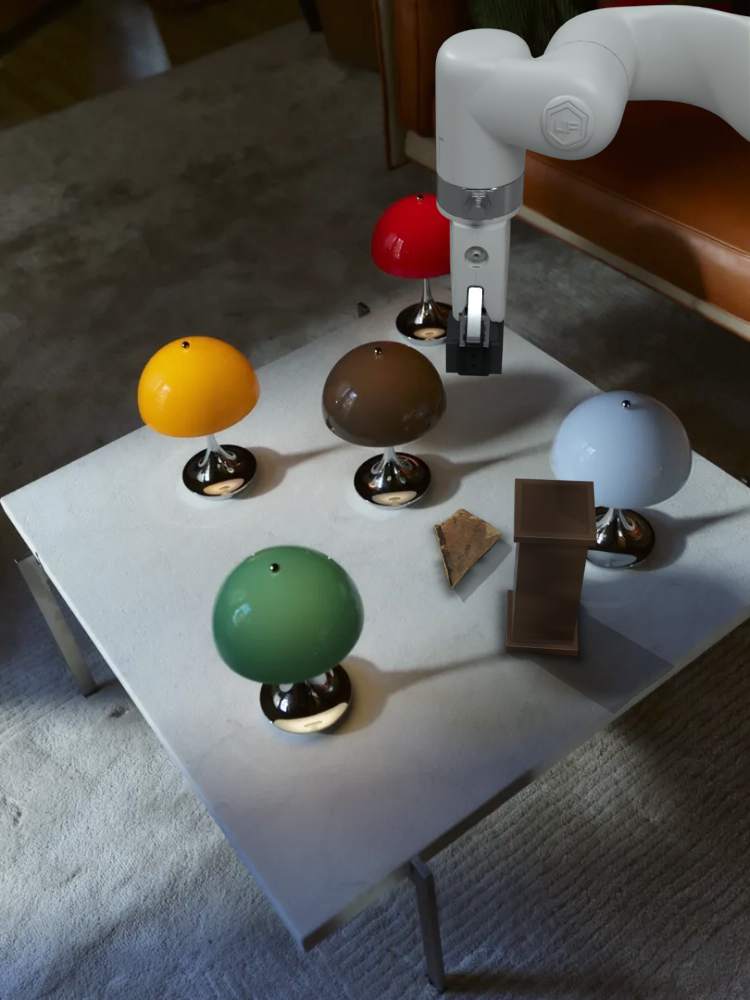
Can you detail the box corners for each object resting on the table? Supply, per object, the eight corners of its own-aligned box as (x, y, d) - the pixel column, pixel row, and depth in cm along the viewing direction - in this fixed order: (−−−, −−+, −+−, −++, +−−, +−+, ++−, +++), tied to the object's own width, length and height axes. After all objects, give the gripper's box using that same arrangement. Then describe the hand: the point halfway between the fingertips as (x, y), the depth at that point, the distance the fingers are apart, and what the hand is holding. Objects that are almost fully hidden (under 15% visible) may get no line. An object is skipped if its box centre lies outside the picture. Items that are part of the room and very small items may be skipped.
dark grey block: (502, 340, 97) (504, 310, 94) (501, 374, 93) (503, 344, 90) (449, 339, 97) (449, 309, 95) (445, 372, 94) (445, 342, 91)
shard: (450, 594, 113) (450, 585, 112) (401, 564, 117) (401, 554, 115) (503, 539, 118) (504, 530, 117) (454, 512, 122) (454, 503, 121)
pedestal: (575, 599, 112) (593, 481, 97) (577, 656, 106) (597, 540, 92) (506, 595, 112) (515, 477, 98) (505, 651, 107) (513, 536, 93)
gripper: (522, 242, 76) (511, 412, 89) (524, 141, 87) (513, 304, 100) (429, 241, 76) (431, 409, 90) (442, 140, 88) (443, 303, 101)
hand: (475, 352), depth 95 cm, fingers closed on dark grey block, 5 cm apart
